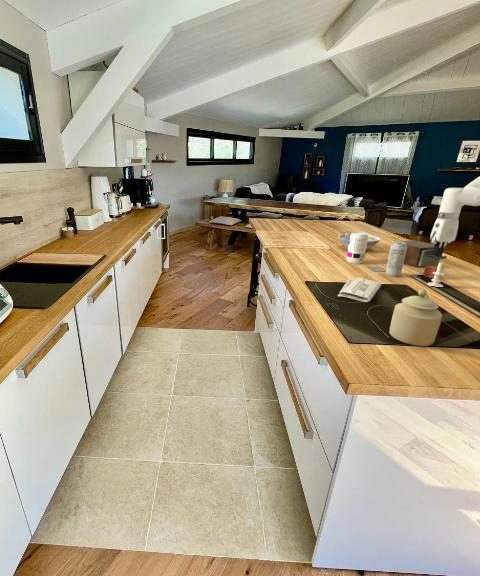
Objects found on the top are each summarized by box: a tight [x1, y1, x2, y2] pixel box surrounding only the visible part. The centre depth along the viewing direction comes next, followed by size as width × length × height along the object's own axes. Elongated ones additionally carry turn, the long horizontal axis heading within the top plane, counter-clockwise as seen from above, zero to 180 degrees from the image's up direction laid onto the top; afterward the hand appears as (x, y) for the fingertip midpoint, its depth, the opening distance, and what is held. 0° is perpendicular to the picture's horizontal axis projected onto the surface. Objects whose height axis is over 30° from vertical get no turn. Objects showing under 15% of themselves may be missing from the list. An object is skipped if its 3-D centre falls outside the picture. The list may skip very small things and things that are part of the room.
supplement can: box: [345, 231, 369, 265], centre depth 160 cm, size 8×8×15 cm
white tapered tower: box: [427, 261, 445, 288], centre depth 127 cm, size 5×5×10 cm
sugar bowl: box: [388, 288, 443, 347], centre depth 90 cm, size 15×11×15 cm
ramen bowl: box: [337, 230, 381, 250], centre depth 187 cm, size 25×23×8 cm
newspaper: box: [337, 277, 382, 303], centre depth 125 cm, size 23×12×2 cm, turn 141°
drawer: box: [418, 248, 448, 267], centre depth 155 cm, size 18×11×8 cm, turn 14°
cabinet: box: [399, 239, 435, 268], centre depth 160 cm, size 15×13×10 cm
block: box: [422, 265, 444, 280], centre depth 138 cm, size 5×5×5 cm
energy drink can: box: [385, 241, 407, 278], centre depth 140 cm, size 6×6×15 cm
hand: (437, 255), depth 149 cm, fingers closed
